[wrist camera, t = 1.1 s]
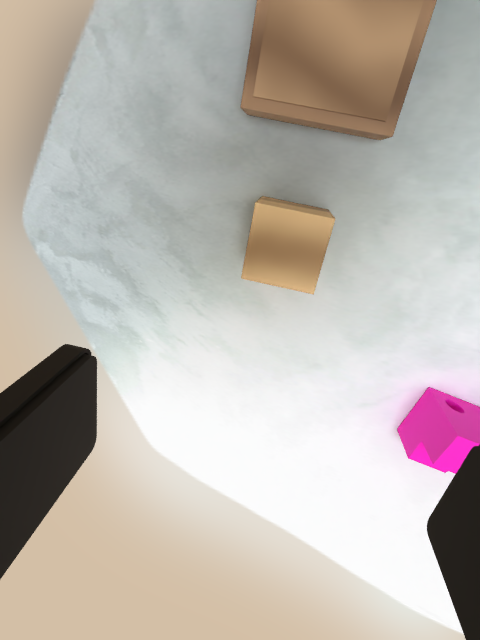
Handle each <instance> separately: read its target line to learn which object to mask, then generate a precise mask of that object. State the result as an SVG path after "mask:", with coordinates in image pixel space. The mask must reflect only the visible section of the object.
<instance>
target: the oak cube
mask: <svg viewBox="0 0 480 640" xmlns="http://www.w3.org/2000/svg"><path fill="white" fill-rule="evenodd" d="M334 222H335V218H334V217H333V215H332V214H331V213H330V211H329V210H327V209H322V208H318V207H313V206H308V205H303V204H298V203H293V202H288V201H284V200H279V199H274V198H269V197H264V196H262V197H261V198H260V199H259V200H258V201H257V202H255V207H254V213H253V218H252V223H251V228H250V234H249V239H248V244H247V249H246V255H245V260H244V265H243V270H242V276H241V278H242V279H246V280H251V281H255V282H260V283H264V284H269V285H273V286H278V287H282V288H287V289H292V290H296V291H301V292H305V293H310V294H314V291H315V287H316V284H317V281H318V277H319V274H320V270H321V267H322V263H323V260H324V256H325V253H326V249H327V246H328V243H329V239H330V236H331V232H332V229H333V225H334Z"/></svg>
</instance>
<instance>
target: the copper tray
mask: <svg viewBox="0 0 480 640" xmlns="http://www.w3.org/2000/svg"><path fill="white" fill-rule="evenodd" d="M436 1H437V0H257V5H256V11H255V17H254V24H253V30H252V37H251V43H250V50H249V56H248V63H247V69H246V75H245V82H244V88H243V95H242V101H241V109H242V110H243V111H244V112H245V113H246V114H247V115H252V116H257V117H262V118H267V119H272V120H278V121H283V122H288V123H293V124H298V125H304V126H309V127H314V128H319V129H324V130H330V131H335V132H340V133H345V134H350V135H356V136H361V137H366V138H371V139H376V140H383V139H386V138H389V137H392V136H393V133H394V130H395V127H396V124H397V121H398V118H399V115H400V112H401V109H402V106H403V103H404V100H405V96H406V93H407V90H408V87H409V84H410V81H411V78H412V75H413V72H414V69H415V66H416V63H417V60H418V57H419V53H420V50H421V47H422V44H423V41H424V38H425V35H426V32H427V29H428V26H429V23H430V20H431V17H432V13H433V10H434V7H435V4H436Z"/></svg>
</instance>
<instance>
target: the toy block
mask: <svg viewBox="0 0 480 640" xmlns="http://www.w3.org/2000/svg"><path fill="white" fill-rule="evenodd" d="M397 430H398V433H399V435H400V438H401V441H402V443H403V446H404V449H405V451H406V454H407V456H408V458H409V459H412V460H414V461H417V462H419V463H422V464H424V465H427V466H429V467H432V468H435V469H437V470H440V471H442V472H445V473H446V472H447V471H450V472H453V473H455V474H456V473H457V471H458V470H459V468H460V466H461V465H462V463H463V461H464V460H465V458H466V456H467V455H468V453H469V452H470V450H471V449H472V447H474V446H479V445H480V407H478V406H476V405H473V404H471V403H468V402H466V401H463V400H461V399H458V398H456V397H453V396H451V395H448V394H446V393H443V392H440V391H438V390H435V389H433V388H430V387H428V389H427V390H426V391H425V393H424V394H423V395H422V397H421V398H420V399H419V401H418V402H417V403H416V405H415V406H414V407H413V409H412V410H411V411H410V413H409V414H408V415H407V417H406V418H405V419H404V421H403V422H402V423H401V425H400V426H399V427H398V428H397Z"/></svg>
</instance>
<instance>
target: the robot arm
mask: <svg viewBox="0 0 480 640" xmlns="http://www.w3.org/2000/svg"><path fill="white" fill-rule="evenodd" d="M96 434H97V359H96V357H94V356H91V352H90V350H89V349H86V348H82V347H78V346H73V345H69V344H65V345H63V346H61V347H60V348H59V349H57V350H56V351H55V352H53V353H52V354H51V355H50V356H48V357H47V358H46V359H44V360H43V361H42V362H41V363H39V364H38V365H37V366H35V367H34V368H33V369H31V370H30V371H29V372H27V373H26V374H25V375H24V376H22V377H21V378H20V379H18V380H17V381H16V382H15V383H13V384H12V385H11V386H9V387H8V388H7V389H5V390H4V391H3V392H1V393H0V579H1V578H2V576H3V575H4V573H5V572H6V570H7V569H8V568H9V566H10V565H11V564H12V562H13V561H14V559H15V558H16V557H17V555H18V554H19V552H20V551H21V550H22V548H23V547H24V545H25V544H26V542H27V541H28V540H29V538H30V537H31V535H32V534H33V533H34V531H35V530H36V528H37V527H38V526H39V524H40V523H41V521H42V520H43V519H44V517H45V516H46V514H47V513H48V512H49V510H50V509H51V507H52V506H53V504H54V503H55V502H56V500H57V499H58V498H59V496H60V495H61V493H62V492H63V491H64V489H65V488H66V486H67V485H68V484H69V482H70V481H71V479H72V478H73V476H74V475H75V474H76V472H77V471H78V470H79V468H80V467H81V465H82V464H83V463H84V461H85V460H86V458H87V457H88V456H89V454H90V453H91V451H92V450H93V447H94V445H95V442H96V436H97V435H96ZM427 532H428V536H429V539H430V542H431V545H432V547H433V550H434V553H435V556H436V558H437V561H438V564H439V567H440V569H441V572H442V575H443V578H444V580H445V583H446V586H447V589H448V591H449V594H450V597H451V600H452V602H453V605H454V608H455V611H456V613H457V616H458V619H459V622H460V624H461V627H462V630H463V633H464V635H465V638H466V640H480V445H479V446H474V447H472V449H471V450H470V452H469V453H468V455H467V456H466V458H465V460H464V461H463V463H462V465H461V466H460V468H459V470H458V471H457V473H456V475H455V476H454V478H453V480H452V481H451V483H450V484H449V486H448V488H447V489H446V491H445V493H444V494H443V496H442V498H441V499H440V501H439V503H438V504H437V506H436V508H435V509H434V511H433V513H432V514H431V516H430V517H429V520H428V523H427Z"/></svg>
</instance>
